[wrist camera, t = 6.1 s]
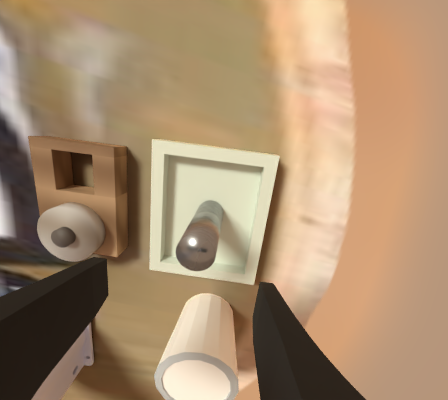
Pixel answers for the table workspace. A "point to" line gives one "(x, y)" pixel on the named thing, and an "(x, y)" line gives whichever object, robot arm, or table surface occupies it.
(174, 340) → the cream cylinder
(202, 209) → the pin
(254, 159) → the tray
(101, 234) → the block
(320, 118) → the table surface
